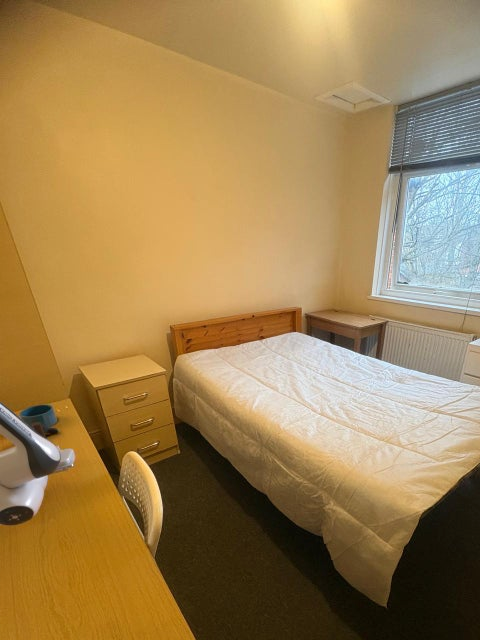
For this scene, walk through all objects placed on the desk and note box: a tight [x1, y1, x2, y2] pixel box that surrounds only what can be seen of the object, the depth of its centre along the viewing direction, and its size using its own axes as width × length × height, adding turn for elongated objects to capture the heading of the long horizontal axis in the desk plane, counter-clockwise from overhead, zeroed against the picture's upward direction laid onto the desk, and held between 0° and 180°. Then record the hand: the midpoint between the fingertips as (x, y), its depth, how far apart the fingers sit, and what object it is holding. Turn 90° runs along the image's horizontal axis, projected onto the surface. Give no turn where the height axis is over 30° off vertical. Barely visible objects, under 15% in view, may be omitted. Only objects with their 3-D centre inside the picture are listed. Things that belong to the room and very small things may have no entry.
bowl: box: [18, 403, 58, 429], centre depth 130 cm, size 11×11×6 cm
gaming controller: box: [42, 426, 59, 435], centre depth 122 cm, size 10×5×6 cm
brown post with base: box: [32, 422, 47, 439], centre depth 107 cm, size 5×5×15 cm
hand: (38, 451), depth 101 cm, fingers open, 8 cm apart
